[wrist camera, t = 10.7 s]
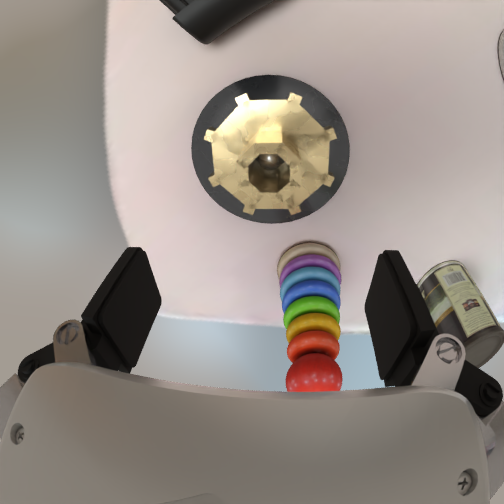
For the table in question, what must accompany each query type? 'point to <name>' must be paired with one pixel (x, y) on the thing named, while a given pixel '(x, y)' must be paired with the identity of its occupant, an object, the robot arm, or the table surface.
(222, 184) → the tan faceted octagonal piece
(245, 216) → the plate
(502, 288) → the table surface
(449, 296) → the coffee can
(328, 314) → the stacking toy
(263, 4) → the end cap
